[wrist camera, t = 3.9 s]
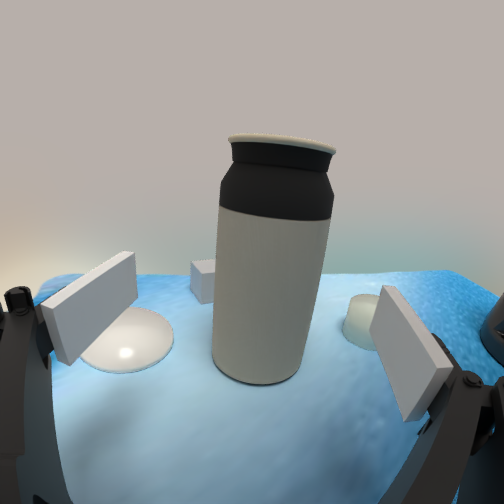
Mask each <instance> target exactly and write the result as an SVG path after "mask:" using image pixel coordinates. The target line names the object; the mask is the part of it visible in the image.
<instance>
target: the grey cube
mask: <svg viewBox="0 0 504 504" xmlns="http://www.w3.org/2000/svg"><path fill="white" fill-rule="evenodd" d="M215 262H216V259H209V260H199V261H191V283H190V290H191V291H192V293H193V294H194V295H195V297H196V298H197V299H198V301H199V302H200V303H201V304H207V303H213V302H214V282H215Z"/></svg>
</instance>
